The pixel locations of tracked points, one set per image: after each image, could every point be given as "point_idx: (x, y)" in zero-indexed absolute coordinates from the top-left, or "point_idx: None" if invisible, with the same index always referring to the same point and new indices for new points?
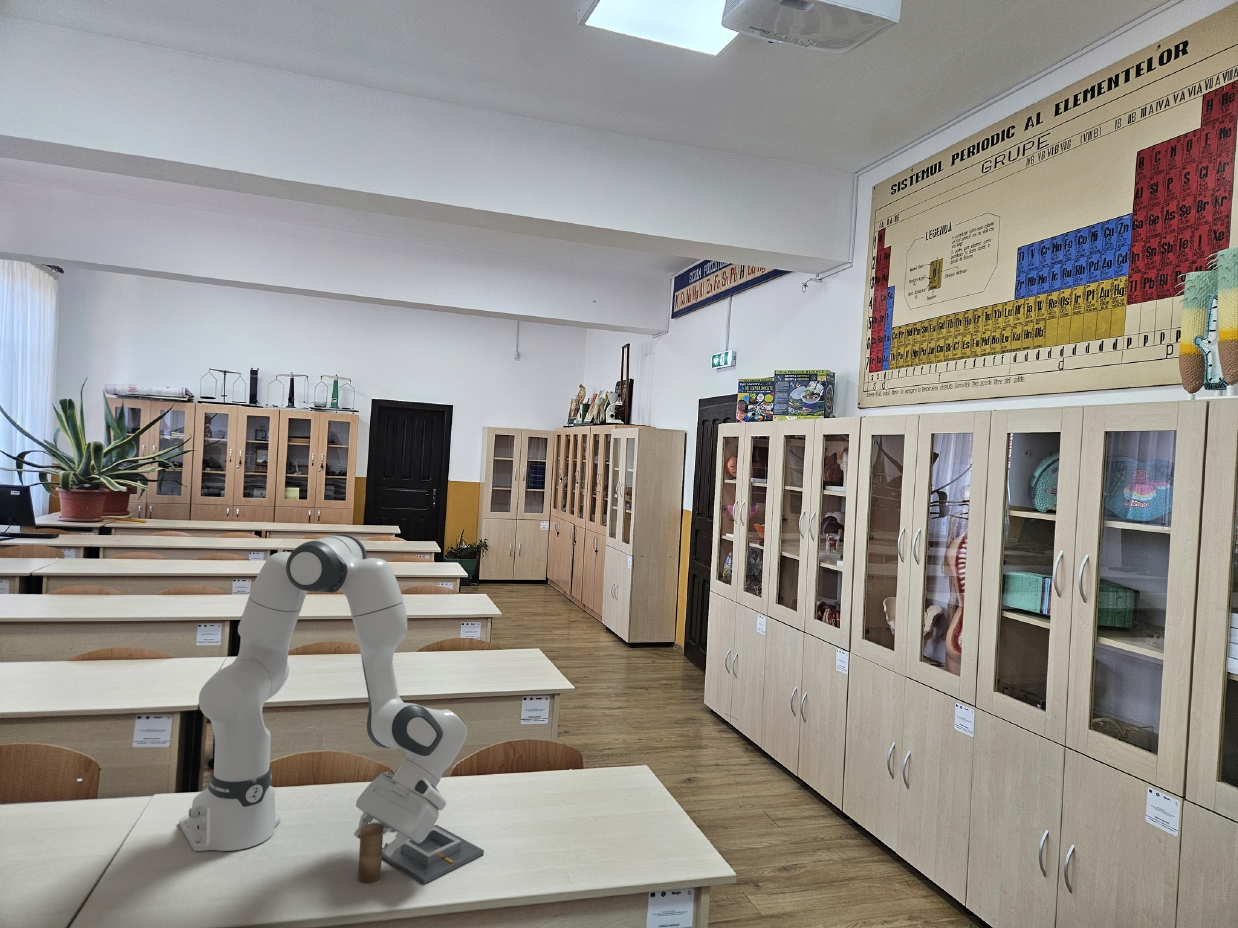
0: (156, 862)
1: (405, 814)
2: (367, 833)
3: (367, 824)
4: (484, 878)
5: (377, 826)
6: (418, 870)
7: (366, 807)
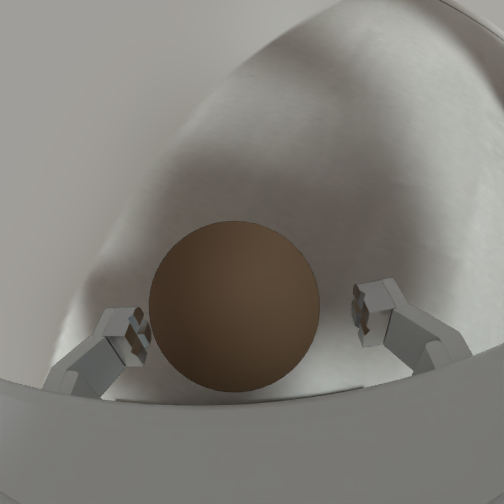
0: (494, 53)
1: (28, 479)
2: (186, 242)
3: (316, 311)
4: None
5: (237, 358)
6: None
7: (480, 372)
